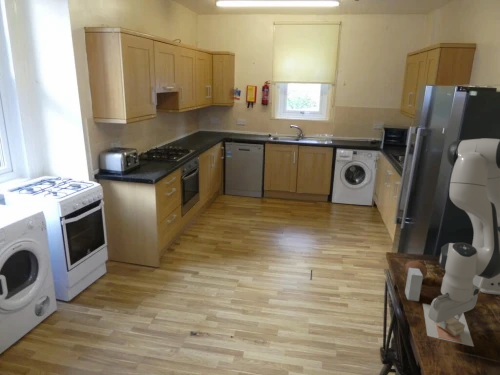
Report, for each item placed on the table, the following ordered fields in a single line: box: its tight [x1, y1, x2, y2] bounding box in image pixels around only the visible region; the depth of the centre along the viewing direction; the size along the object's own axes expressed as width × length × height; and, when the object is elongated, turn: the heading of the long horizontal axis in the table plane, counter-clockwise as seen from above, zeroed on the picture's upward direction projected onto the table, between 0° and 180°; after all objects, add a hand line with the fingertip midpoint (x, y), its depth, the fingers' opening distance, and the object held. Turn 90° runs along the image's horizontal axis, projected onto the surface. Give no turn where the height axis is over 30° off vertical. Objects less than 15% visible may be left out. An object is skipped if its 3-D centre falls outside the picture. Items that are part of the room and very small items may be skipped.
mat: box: [422, 303, 475, 347], centre depth 128 cm, size 14×20×1 cm
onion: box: [403, 259, 428, 281], centre depth 157 cm, size 10×9×10 cm
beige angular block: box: [434, 317, 465, 336], centre depth 124 cm, size 8×4×3 cm, turn 26°
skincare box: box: [404, 268, 423, 302], centre depth 143 cm, size 6×4×12 cm
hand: (449, 324), depth 124 cm, fingers closed on beige angular block, 4 cm apart
